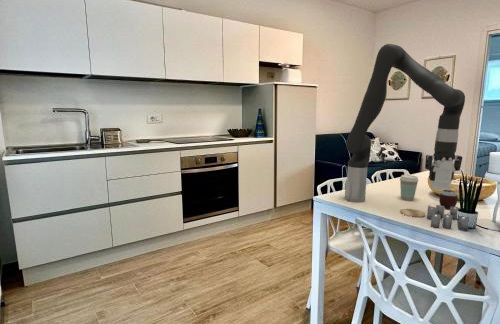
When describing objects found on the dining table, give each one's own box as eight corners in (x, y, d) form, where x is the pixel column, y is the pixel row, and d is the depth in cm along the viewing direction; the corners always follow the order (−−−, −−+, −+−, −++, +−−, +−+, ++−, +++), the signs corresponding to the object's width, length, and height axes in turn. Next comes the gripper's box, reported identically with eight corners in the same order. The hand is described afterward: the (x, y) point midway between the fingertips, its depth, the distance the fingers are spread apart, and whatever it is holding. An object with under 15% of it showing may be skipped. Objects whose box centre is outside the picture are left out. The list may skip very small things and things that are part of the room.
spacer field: (438, 231, 118) (439, 218, 117) (413, 216, 135) (414, 205, 134) (490, 230, 119) (492, 218, 118) (459, 215, 136) (460, 204, 135)
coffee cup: (418, 202, 155) (421, 178, 153) (400, 201, 157) (402, 177, 155) (413, 197, 164) (415, 175, 162) (396, 196, 165) (398, 174, 163)
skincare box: (445, 187, 130) (450, 159, 128) (450, 190, 126) (454, 161, 124) (429, 186, 131) (433, 158, 129) (433, 189, 127) (437, 160, 125)
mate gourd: (456, 211, 142) (460, 178, 139) (436, 208, 146) (440, 176, 143) (455, 206, 148) (459, 175, 146) (436, 204, 152) (439, 174, 150)
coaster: (407, 217, 133) (407, 216, 133) (395, 210, 143) (395, 208, 143) (430, 217, 133) (430, 215, 133) (416, 209, 143) (416, 208, 143)
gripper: (434, 141, 121) (429, 182, 124) (470, 141, 121) (464, 183, 125) (423, 138, 128) (418, 178, 131) (457, 139, 129) (451, 178, 132)
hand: (440, 180), depth 128 cm, fingers closed on skincare box, 7 cm apart
